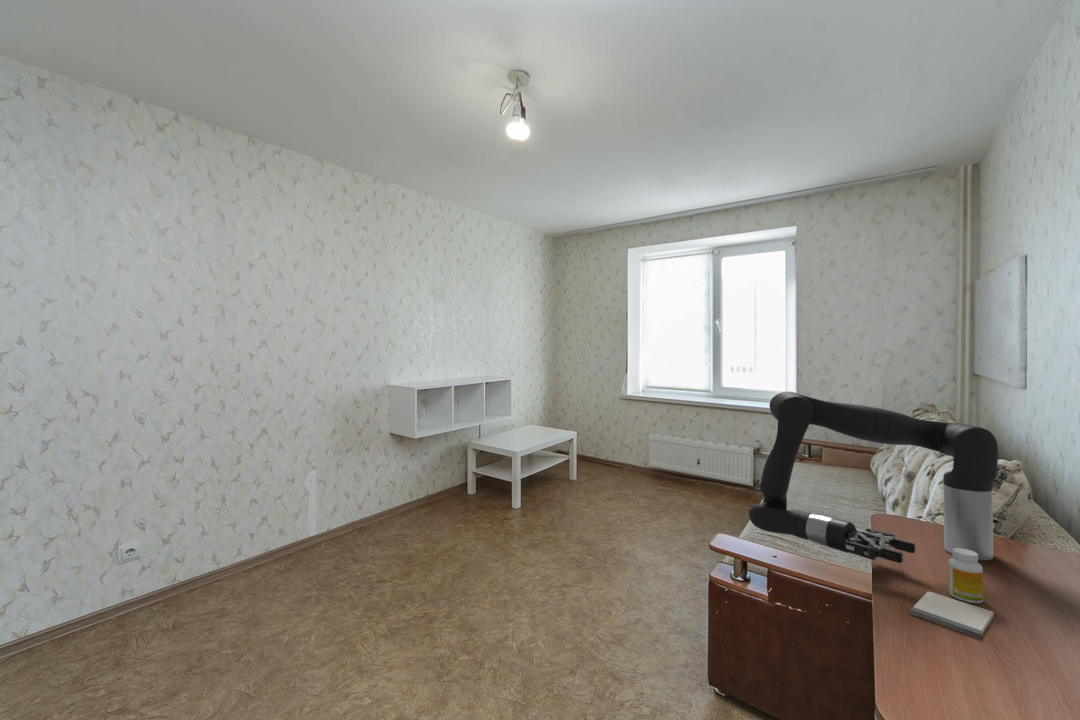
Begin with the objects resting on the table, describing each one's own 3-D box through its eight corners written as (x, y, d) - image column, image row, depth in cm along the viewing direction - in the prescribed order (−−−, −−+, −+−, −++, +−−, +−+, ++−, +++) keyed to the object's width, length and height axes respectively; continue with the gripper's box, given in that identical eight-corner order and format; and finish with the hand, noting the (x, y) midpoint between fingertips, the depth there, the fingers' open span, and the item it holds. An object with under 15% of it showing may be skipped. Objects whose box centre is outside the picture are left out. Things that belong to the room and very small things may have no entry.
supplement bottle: (990, 605, 93) (990, 558, 93) (959, 602, 94) (959, 556, 94) (971, 592, 98) (970, 547, 98) (942, 589, 99) (941, 545, 99)
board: (928, 594, 97) (928, 590, 97) (993, 615, 89) (993, 611, 89) (910, 614, 90) (910, 609, 90) (979, 638, 82) (979, 633, 82)
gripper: (817, 523, 113) (897, 544, 99) (841, 511, 121) (918, 529, 108) (818, 554, 113) (898, 579, 99) (842, 540, 121) (918, 561, 108)
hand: (908, 553), depth 104 cm, fingers open, 8 cm apart
